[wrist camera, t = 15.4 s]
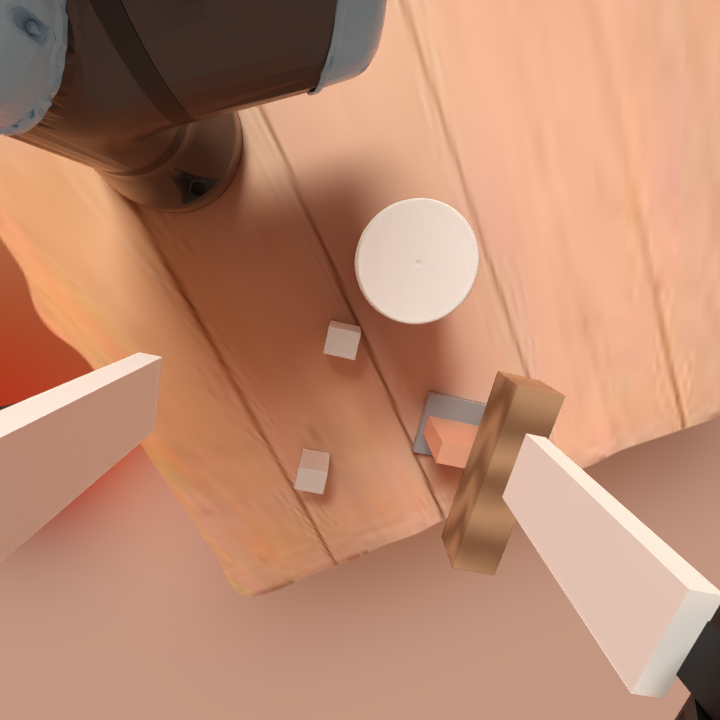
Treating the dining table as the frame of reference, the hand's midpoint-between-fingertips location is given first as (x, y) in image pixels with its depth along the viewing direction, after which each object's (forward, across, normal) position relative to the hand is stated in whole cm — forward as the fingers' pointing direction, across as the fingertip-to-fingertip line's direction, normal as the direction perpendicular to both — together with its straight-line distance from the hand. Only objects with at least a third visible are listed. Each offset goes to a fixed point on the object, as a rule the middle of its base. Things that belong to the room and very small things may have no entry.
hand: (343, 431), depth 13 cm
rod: (+23, +18, -11) cm, 31 cm away
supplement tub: (+31, +4, +7) cm, 32 cm away
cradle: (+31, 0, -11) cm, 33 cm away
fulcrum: (+31, +18, -11) cm, 37 cm away
